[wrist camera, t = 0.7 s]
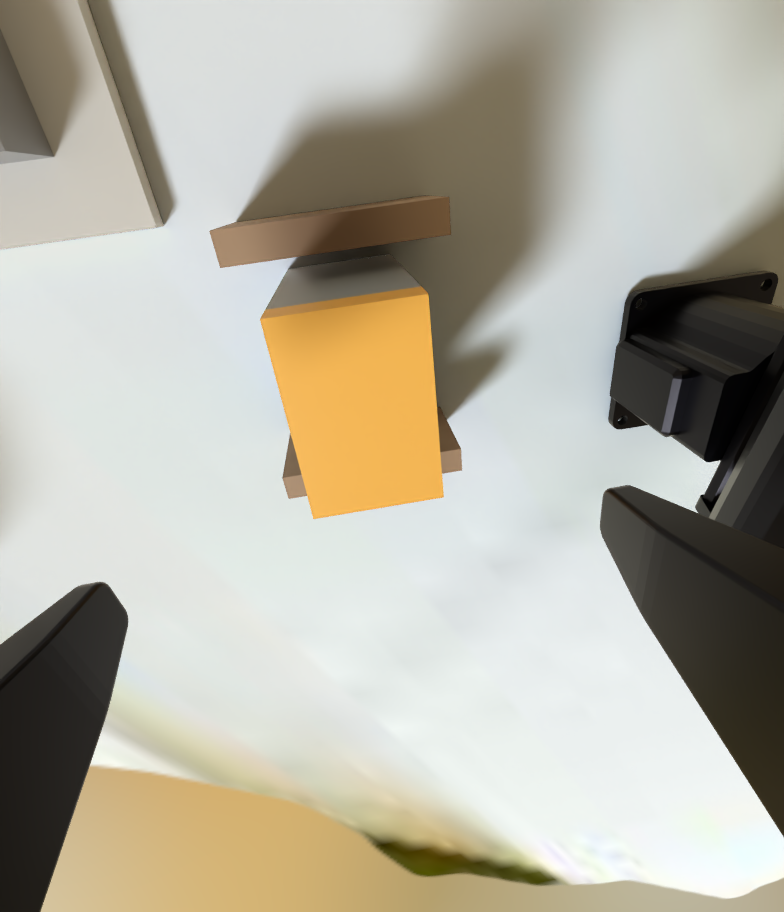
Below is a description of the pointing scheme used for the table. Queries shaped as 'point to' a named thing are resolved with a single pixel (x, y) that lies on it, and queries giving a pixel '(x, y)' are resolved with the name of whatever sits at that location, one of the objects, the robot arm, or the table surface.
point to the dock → (64, 131)
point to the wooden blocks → (331, 235)
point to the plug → (357, 383)
